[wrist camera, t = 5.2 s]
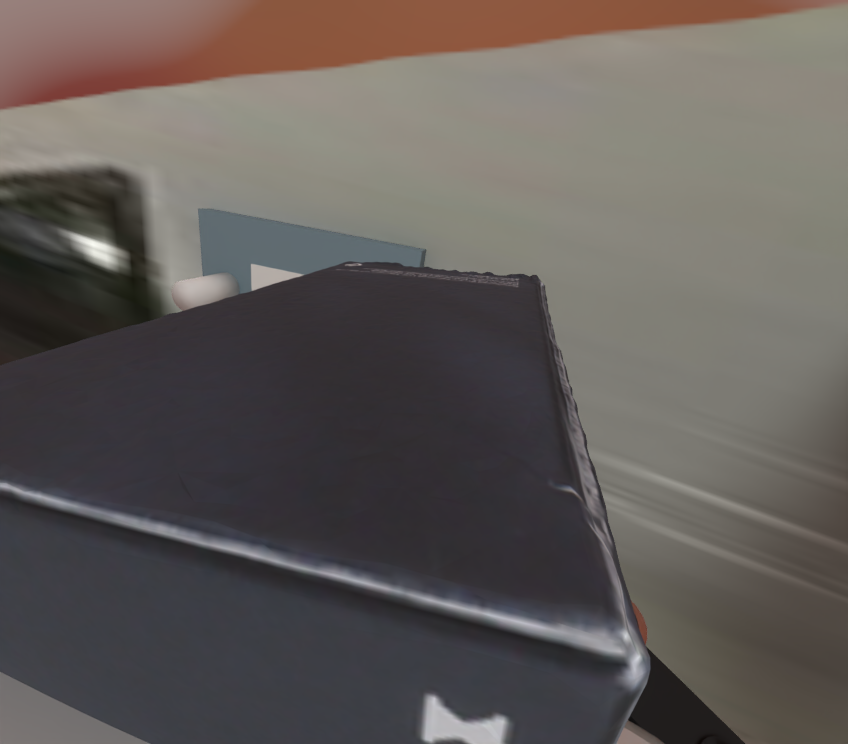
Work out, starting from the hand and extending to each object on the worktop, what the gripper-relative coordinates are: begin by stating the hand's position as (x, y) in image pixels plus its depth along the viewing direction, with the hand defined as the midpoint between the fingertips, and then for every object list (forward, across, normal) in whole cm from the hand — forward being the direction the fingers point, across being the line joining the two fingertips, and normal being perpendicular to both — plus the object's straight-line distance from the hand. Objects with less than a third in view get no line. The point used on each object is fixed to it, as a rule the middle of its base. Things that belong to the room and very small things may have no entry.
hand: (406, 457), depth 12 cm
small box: (+2, 0, 0) cm, 2 cm away
